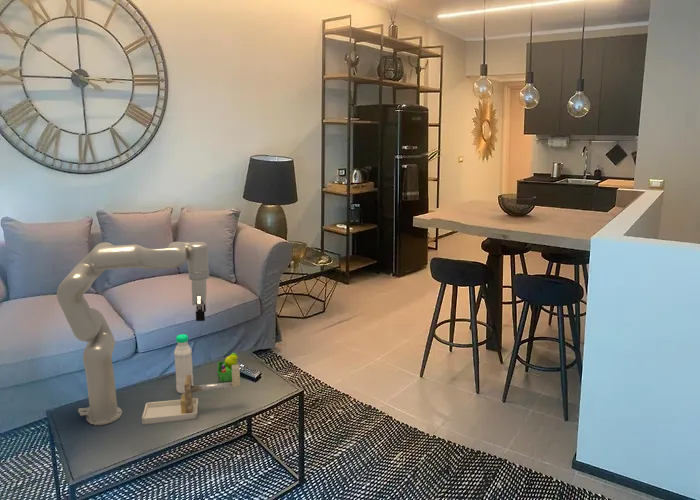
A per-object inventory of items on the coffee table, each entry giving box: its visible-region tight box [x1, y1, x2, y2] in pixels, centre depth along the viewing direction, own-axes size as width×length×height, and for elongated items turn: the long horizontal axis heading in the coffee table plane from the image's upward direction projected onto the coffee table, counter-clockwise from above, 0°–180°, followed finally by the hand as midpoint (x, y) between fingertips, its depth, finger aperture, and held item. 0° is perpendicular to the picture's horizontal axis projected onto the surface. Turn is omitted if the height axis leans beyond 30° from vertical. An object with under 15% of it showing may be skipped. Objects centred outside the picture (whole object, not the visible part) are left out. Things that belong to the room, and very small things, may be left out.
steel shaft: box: [191, 364, 241, 393], centre depth 211 cm, size 20×3×9 cm, turn 103°
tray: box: [141, 397, 199, 426], centre depth 210 cm, size 20×12×2 cm, turn 103°
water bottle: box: [173, 333, 194, 394], centre depth 226 cm, size 7×7×25 cm
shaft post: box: [184, 375, 194, 414], centre depth 211 cm, size 2×8×14 cm, turn 13°
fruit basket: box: [216, 352, 239, 383], centre depth 240 cm, size 11×9×11 cm
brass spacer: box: [180, 393, 186, 414], centre depth 211 cm, size 2×6×6 cm, turn 12°
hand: (201, 316), depth 209 cm, fingers open, 9 cm apart
